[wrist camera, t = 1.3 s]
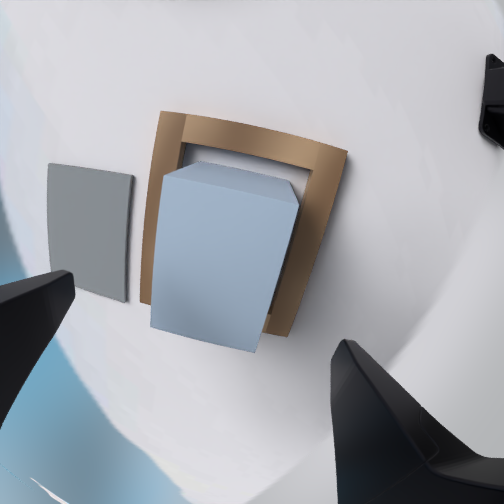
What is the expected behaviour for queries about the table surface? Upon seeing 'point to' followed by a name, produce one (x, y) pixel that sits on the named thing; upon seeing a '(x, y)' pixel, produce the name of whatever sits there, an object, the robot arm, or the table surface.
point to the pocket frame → (263, 145)
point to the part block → (219, 252)
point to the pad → (89, 227)
